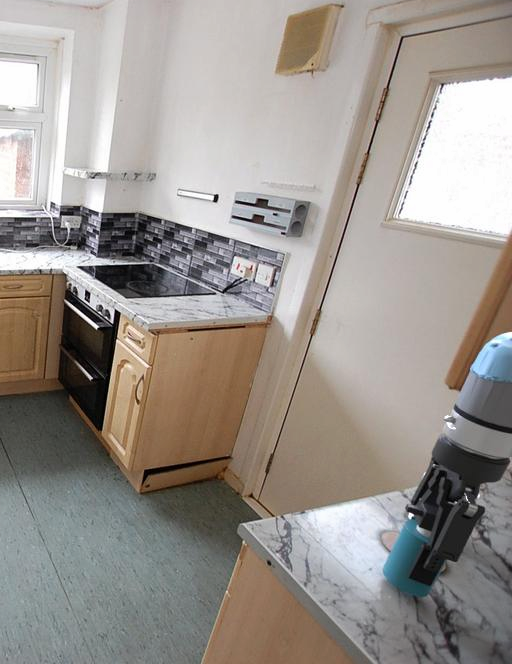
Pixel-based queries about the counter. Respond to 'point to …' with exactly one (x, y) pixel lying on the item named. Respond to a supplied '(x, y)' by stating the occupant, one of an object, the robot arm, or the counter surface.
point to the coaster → (393, 541)
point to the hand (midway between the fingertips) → (413, 565)
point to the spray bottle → (411, 550)
